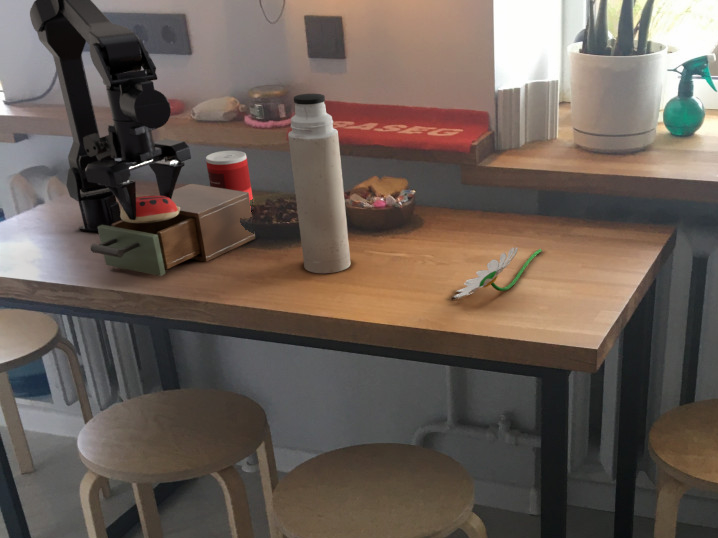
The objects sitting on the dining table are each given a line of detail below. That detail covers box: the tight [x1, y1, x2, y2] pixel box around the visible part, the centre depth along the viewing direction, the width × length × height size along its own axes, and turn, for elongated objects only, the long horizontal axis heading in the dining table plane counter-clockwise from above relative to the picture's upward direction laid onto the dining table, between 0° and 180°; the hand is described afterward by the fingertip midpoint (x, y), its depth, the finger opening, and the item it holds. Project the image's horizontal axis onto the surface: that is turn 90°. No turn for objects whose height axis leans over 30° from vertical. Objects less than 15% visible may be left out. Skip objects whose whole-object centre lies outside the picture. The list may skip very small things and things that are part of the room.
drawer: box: [90, 215, 202, 277], centre depth 173 cm, size 18×12×7 cm
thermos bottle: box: [288, 93, 351, 274], centre depth 168 cm, size 8×8×28 cm
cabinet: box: [171, 183, 256, 263], centre depth 183 cm, size 14×14×9 cm
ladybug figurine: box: [120, 195, 180, 223], centre depth 172 cm, size 7×10×4 cm
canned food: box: [205, 150, 254, 200], centre depth 199 cm, size 8×8×11 cm
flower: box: [452, 246, 542, 301], centre depth 167 cm, size 13×6×30 cm
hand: (149, 212), depth 172 cm, fingers closed on ladybug figurine, 8 cm apart
